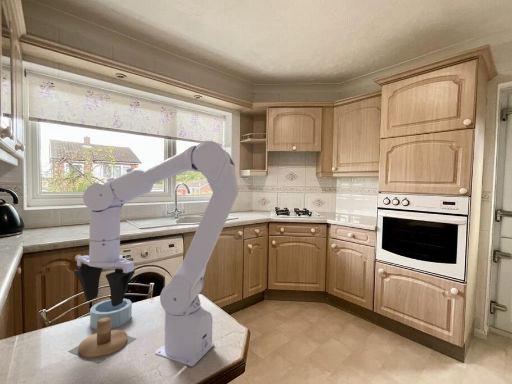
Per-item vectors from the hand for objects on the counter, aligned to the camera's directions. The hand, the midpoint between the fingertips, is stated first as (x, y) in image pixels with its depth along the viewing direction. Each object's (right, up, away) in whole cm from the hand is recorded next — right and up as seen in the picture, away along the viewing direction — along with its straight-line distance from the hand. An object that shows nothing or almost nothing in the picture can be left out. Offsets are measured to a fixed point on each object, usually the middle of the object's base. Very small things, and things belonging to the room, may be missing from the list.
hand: (104, 301), depth 55 cm
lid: (0, -9, -1) cm, 9 cm away
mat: (0, -9, -1) cm, 9 cm away
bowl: (-4, -9, +10) cm, 14 cm away
